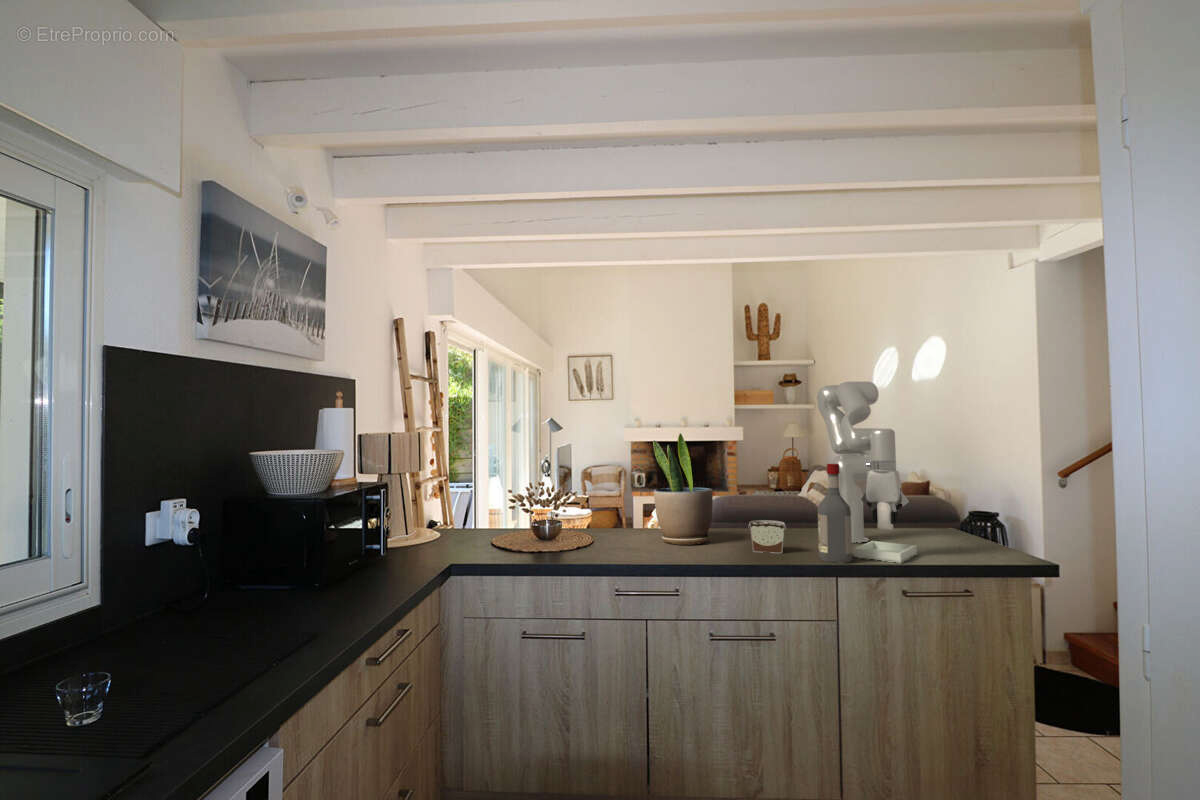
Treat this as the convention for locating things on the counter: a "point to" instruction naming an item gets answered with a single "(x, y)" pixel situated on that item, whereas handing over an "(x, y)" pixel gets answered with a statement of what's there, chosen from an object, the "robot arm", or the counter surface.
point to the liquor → (834, 522)
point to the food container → (767, 535)
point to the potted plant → (681, 500)
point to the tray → (885, 551)
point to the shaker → (884, 515)
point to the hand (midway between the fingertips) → (885, 522)
